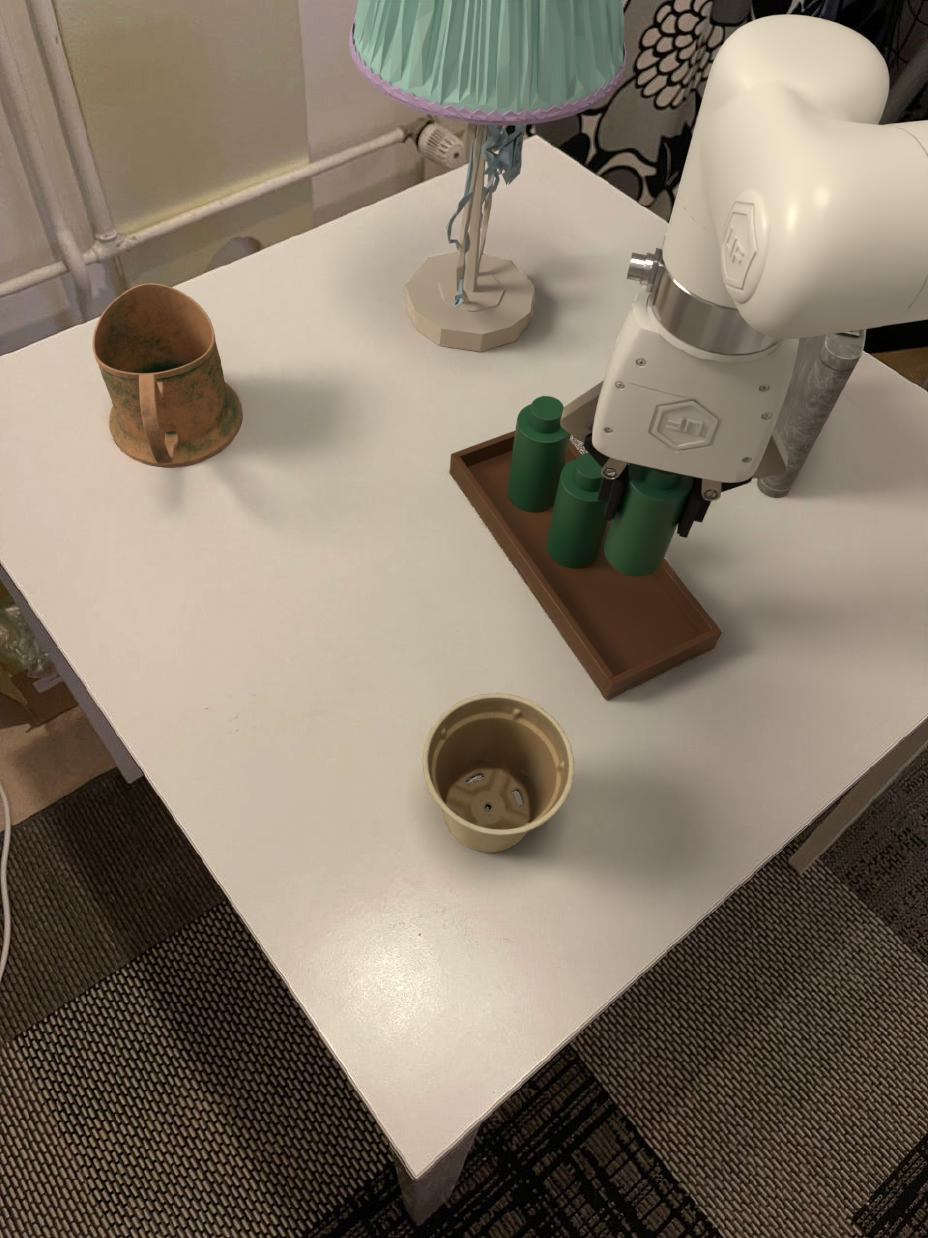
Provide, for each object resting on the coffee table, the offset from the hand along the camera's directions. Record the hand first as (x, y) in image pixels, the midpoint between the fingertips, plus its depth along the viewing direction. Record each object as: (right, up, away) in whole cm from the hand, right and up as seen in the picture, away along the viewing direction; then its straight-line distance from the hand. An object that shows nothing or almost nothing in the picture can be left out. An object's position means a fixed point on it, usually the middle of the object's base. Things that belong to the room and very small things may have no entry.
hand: (647, 511), depth 63 cm
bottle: (0, -2, +4) cm, 5 cm away
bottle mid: (-4, -1, +13) cm, 13 cm away
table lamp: (-12, +24, +29) cm, 40 cm away
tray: (-3, -2, +13) cm, 14 cm away
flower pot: (-11, -21, +1) cm, 24 cm away
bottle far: (-7, +3, +16) cm, 17 cm away
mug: (-38, +8, +18) cm, 42 cm away
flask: (+16, +9, +22) cm, 28 cm away
